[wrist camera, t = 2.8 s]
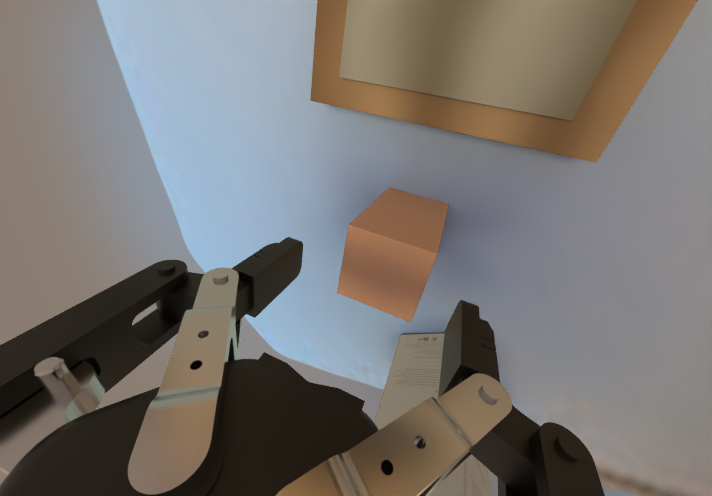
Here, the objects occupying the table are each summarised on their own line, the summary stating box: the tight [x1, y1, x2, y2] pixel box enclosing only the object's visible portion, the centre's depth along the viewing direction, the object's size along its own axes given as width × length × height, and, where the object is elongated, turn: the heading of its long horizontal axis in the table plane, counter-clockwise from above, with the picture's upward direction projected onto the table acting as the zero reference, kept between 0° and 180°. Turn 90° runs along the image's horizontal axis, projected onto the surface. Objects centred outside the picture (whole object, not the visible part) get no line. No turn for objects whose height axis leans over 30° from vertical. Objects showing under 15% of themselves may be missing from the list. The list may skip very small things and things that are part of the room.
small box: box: [374, 333, 492, 496], centre depth 20 cm, size 8×6×13 cm
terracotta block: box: [337, 188, 449, 322], centre depth 17 cm, size 4×4×8 cm
